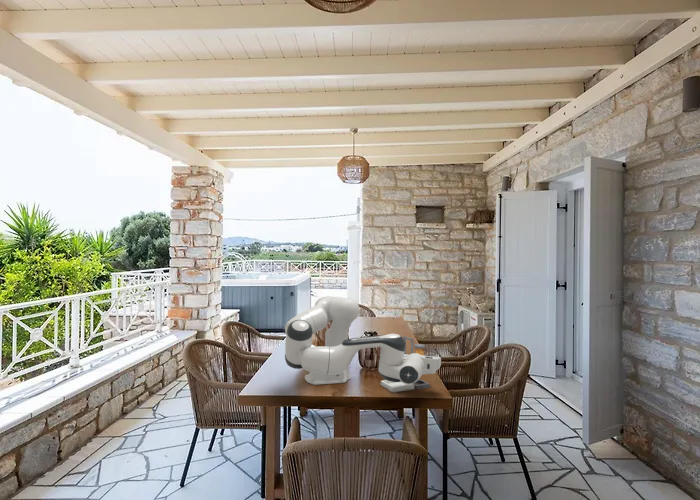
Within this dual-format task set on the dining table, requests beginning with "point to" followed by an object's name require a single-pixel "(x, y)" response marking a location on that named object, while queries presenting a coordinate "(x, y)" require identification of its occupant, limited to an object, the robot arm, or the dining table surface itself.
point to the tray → (396, 386)
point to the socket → (421, 384)
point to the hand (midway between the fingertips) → (419, 356)
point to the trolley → (411, 344)
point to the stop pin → (419, 348)
